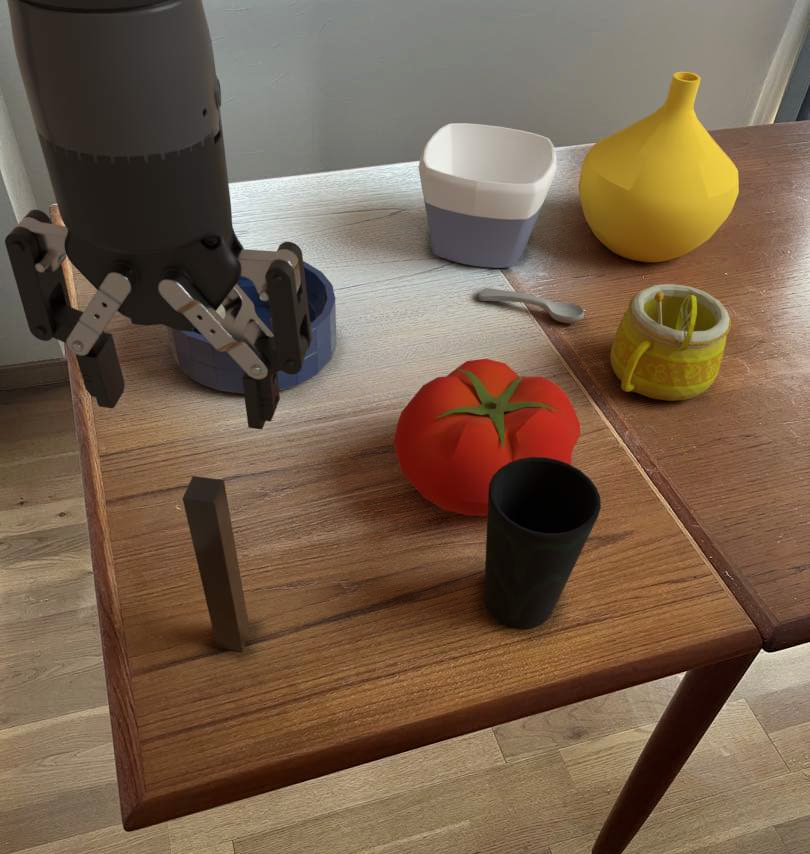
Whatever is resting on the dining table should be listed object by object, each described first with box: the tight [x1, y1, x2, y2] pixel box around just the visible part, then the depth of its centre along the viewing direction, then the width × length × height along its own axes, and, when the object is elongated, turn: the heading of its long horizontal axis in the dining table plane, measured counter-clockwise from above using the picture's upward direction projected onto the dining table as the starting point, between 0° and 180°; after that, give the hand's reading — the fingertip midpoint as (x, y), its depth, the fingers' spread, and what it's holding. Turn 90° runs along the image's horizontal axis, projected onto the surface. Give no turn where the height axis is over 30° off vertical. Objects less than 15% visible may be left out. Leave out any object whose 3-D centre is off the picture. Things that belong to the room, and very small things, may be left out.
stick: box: [182, 475, 251, 653], centre depth 55 cm, size 2×2×16 cm
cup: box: [483, 457, 602, 630], centre depth 60 cm, size 8×8×12 cm
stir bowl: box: [166, 260, 337, 395], centre depth 83 cm, size 17×17×6 cm
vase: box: [577, 71, 740, 263], centre depth 96 cm, size 18×18×19 cm
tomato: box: [392, 358, 581, 516], centre depth 70 cm, size 14×16×10 cm
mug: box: [609, 283, 732, 402], centre depth 80 cm, size 13×11×12 cm
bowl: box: [418, 122, 558, 269], centre depth 97 cm, size 15×15×11 cm
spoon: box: [478, 287, 585, 324], centre depth 91 cm, size 3×12×2 cm, turn 67°
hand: (186, 409), depth 46 cm, fingers open, 8 cm apart
